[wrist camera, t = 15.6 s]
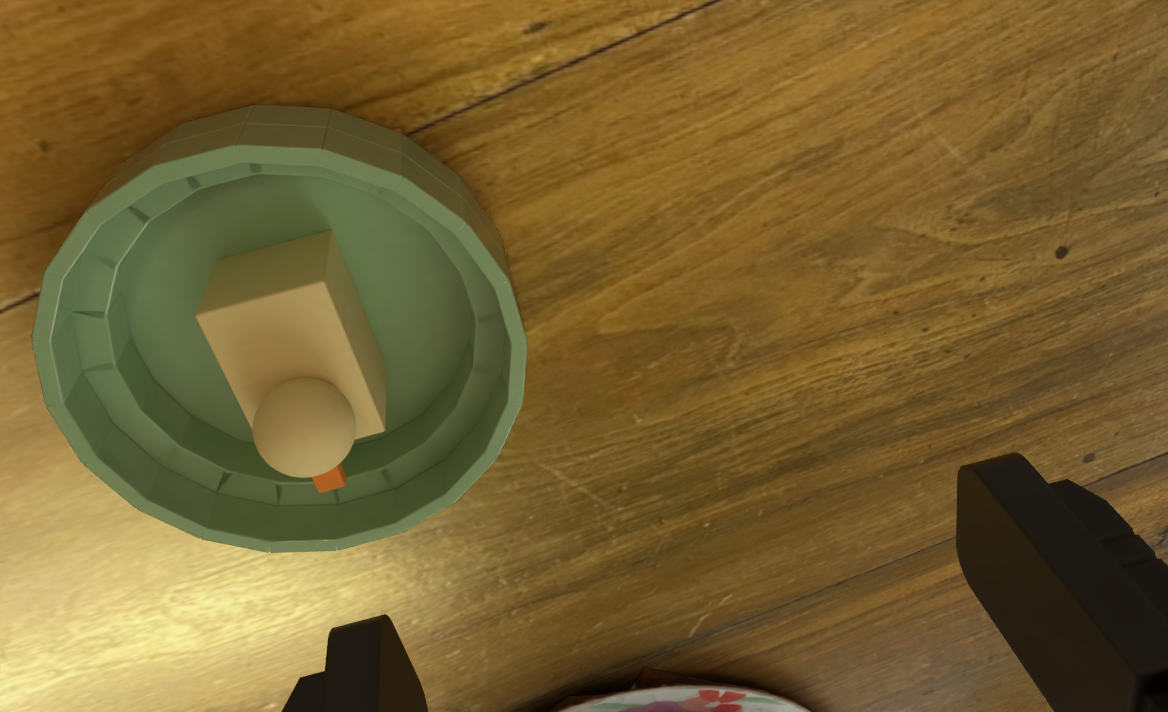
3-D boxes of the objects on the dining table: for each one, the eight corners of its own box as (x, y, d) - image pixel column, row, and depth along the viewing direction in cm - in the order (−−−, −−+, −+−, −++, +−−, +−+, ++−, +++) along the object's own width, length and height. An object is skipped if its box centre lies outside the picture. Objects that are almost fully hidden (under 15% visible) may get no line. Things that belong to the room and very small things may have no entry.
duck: (216, 259, 35) (174, 361, 29) (332, 228, 35) (316, 323, 29) (289, 414, 39) (266, 534, 32) (393, 385, 39) (392, 500, 33)
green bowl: (-10, 168, 33) (-72, 225, 28) (447, 49, 33) (453, 86, 29) (192, 515, 41) (167, 598, 37) (552, 416, 42) (570, 487, 37)
